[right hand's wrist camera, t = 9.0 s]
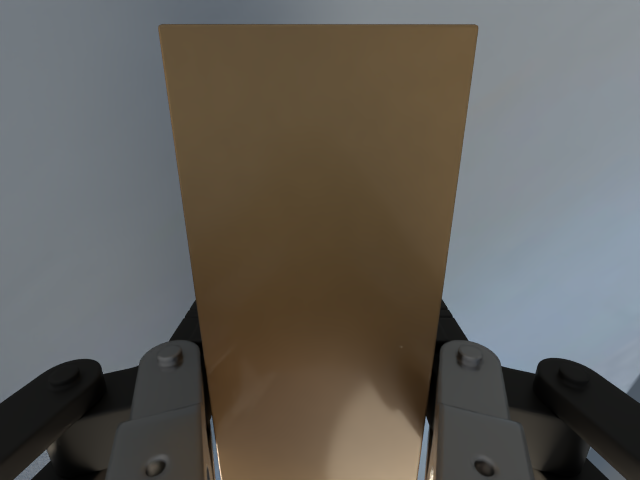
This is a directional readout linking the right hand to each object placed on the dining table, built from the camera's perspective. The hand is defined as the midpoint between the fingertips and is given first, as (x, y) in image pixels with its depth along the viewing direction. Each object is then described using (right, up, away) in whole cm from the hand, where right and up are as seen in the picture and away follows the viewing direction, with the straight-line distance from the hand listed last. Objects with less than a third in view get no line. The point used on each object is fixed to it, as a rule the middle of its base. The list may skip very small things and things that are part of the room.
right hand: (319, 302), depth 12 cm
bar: (0, -29, +13) cm, 32 cm away
